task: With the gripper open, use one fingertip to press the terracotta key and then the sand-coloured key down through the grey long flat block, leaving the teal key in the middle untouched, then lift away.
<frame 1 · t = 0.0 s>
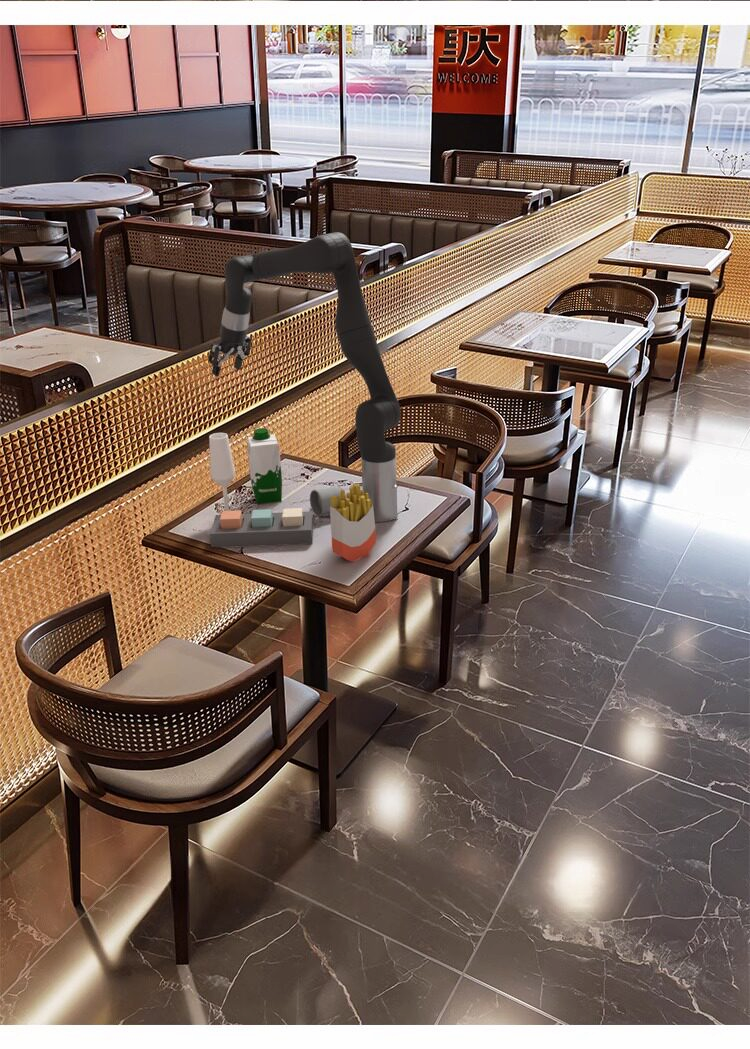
hand: (226, 371, 254), 31 cm above the table, tool tilted 20°, fingers open, 8 cm apart
milk carton: (268, 499, 248), on the table
champagne flute: (228, 518, 237), on the table
french fries container: (355, 556, 215), on the table
sand key: (292, 518, 224), point 5 cm above the table, slide at 0.0 cm
terracotta key: (231, 520, 224), point 5 cm above the table, slide at 0.0 cm
ceramic mug: (325, 512, 239), on the table
grey long flat block: (263, 535, 226), on the table
teal key: (262, 519, 224), point 5 cm above the table, slide at 0.0 cm
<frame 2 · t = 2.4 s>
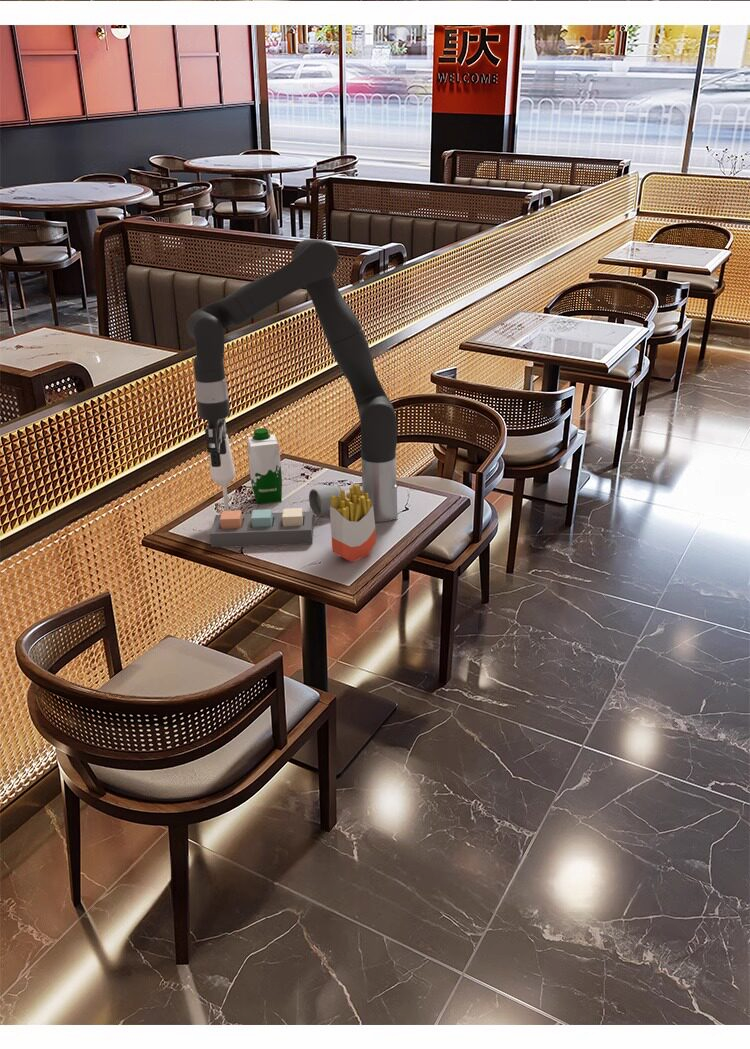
hand: (219, 460, 213), 23 cm above the table, tool pointing down, fingers open, 8 cm apart
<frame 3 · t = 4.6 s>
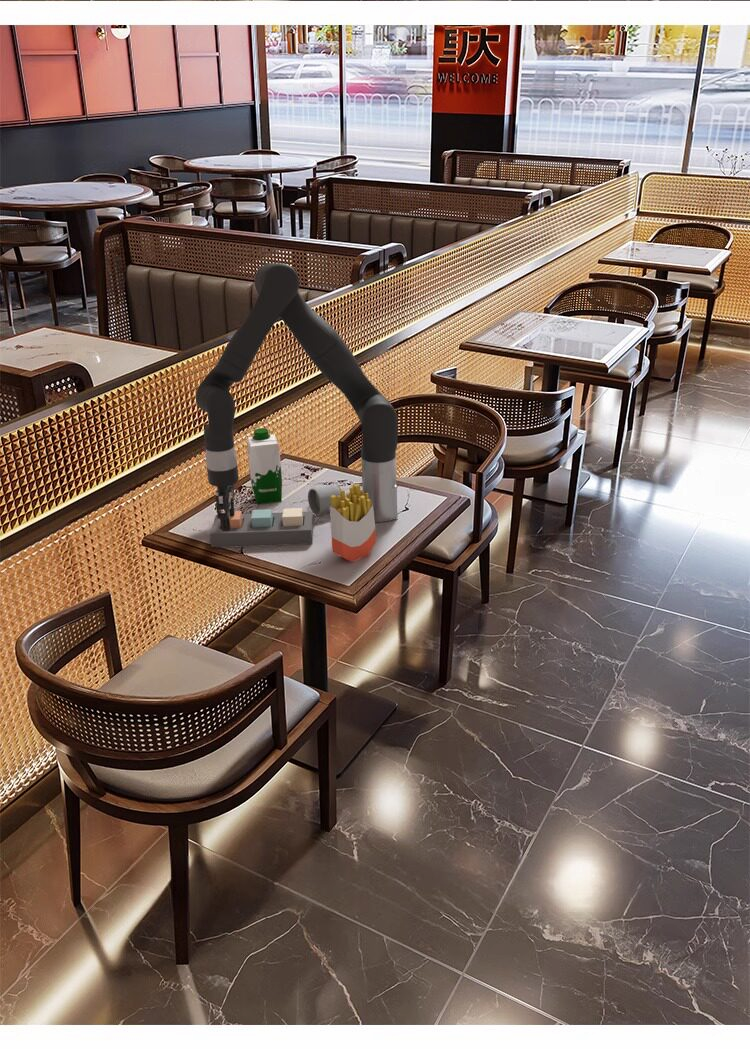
hand: (228, 522, 220), 6 cm above the table, tool pointing down, fingers open, 8 cm apart
terracotta key: (231, 521, 224), point 5 cm above the table, slide at 0.2 cm, touching gripper
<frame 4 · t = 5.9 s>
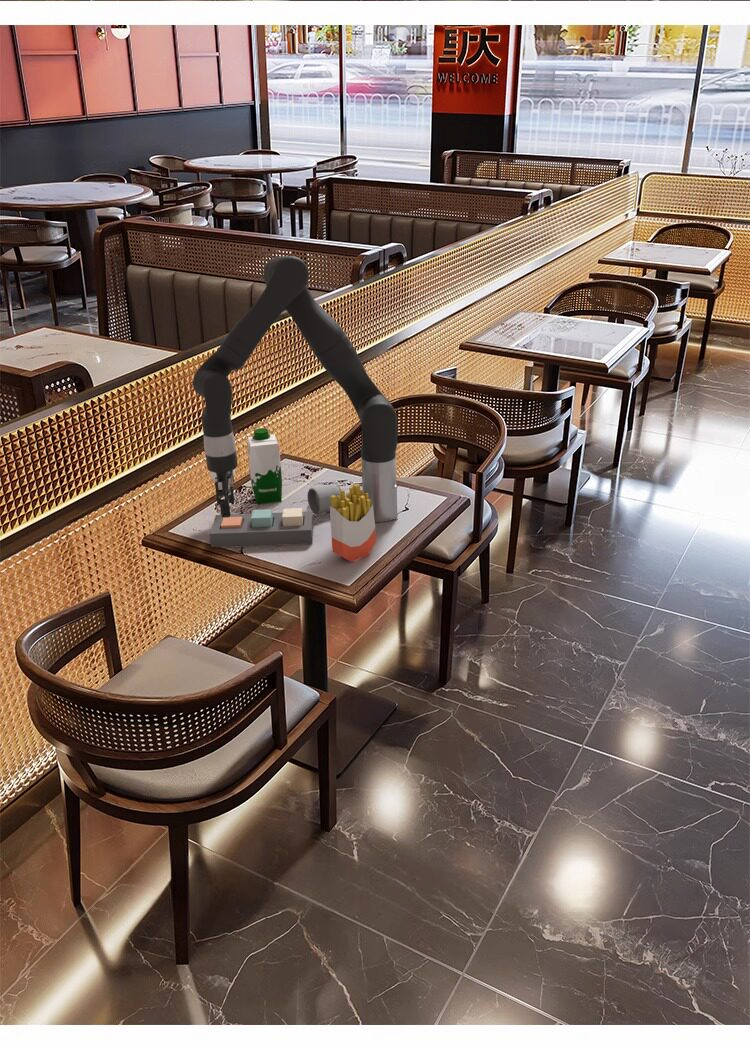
hand: (228, 509, 218), 10 cm above the table, tool pointing down, fingers open, 8 cm apart
terracotta key: (232, 526, 225), point 3 cm above the table, slide at 1.8 cm
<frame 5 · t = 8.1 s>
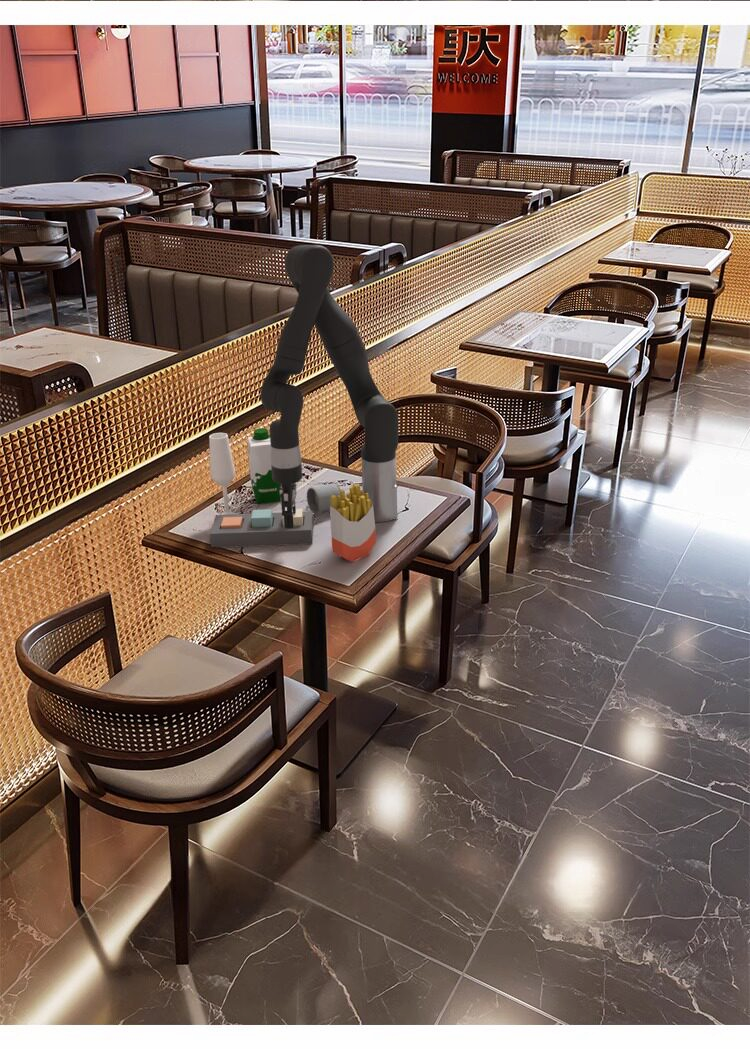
hand: (290, 520, 220), 6 cm above the table, tool pointing down, fingers open, 8 cm apart
sand key: (292, 519, 224), point 5 cm above the table, slide at 0.2 cm, touching gripper
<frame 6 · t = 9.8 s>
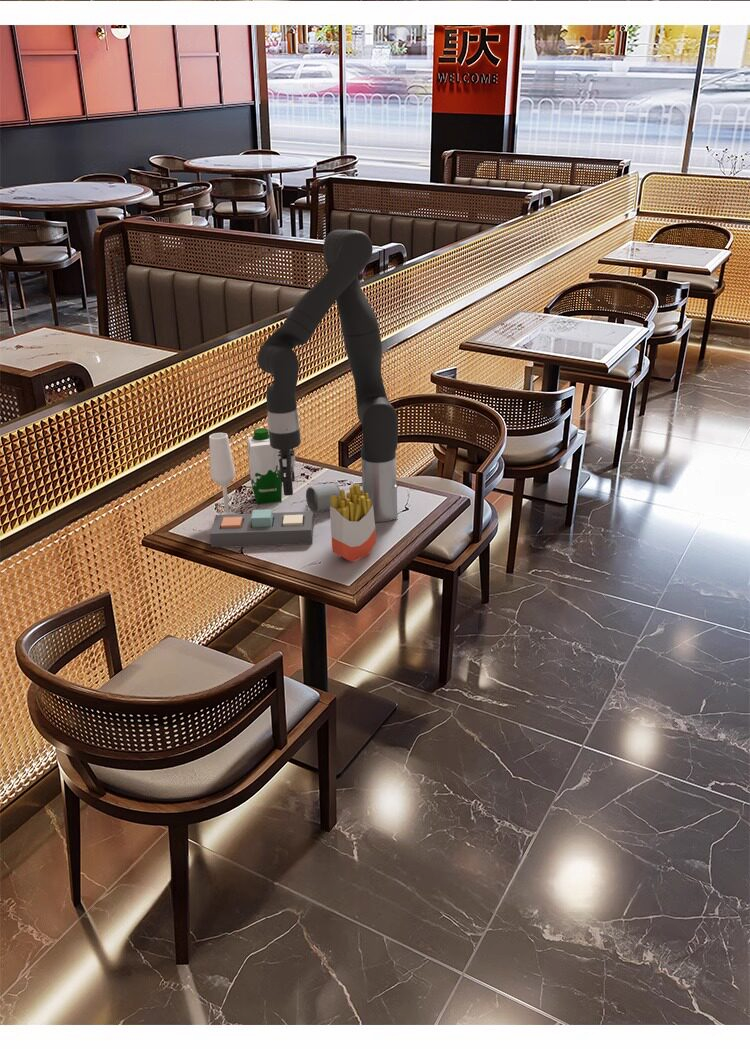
hand: (289, 487, 216), 16 cm above the table, tool pointing down, fingers open, 8 cm apart
sand key: (293, 524, 225), point 3 cm above the table, slide at 1.9 cm
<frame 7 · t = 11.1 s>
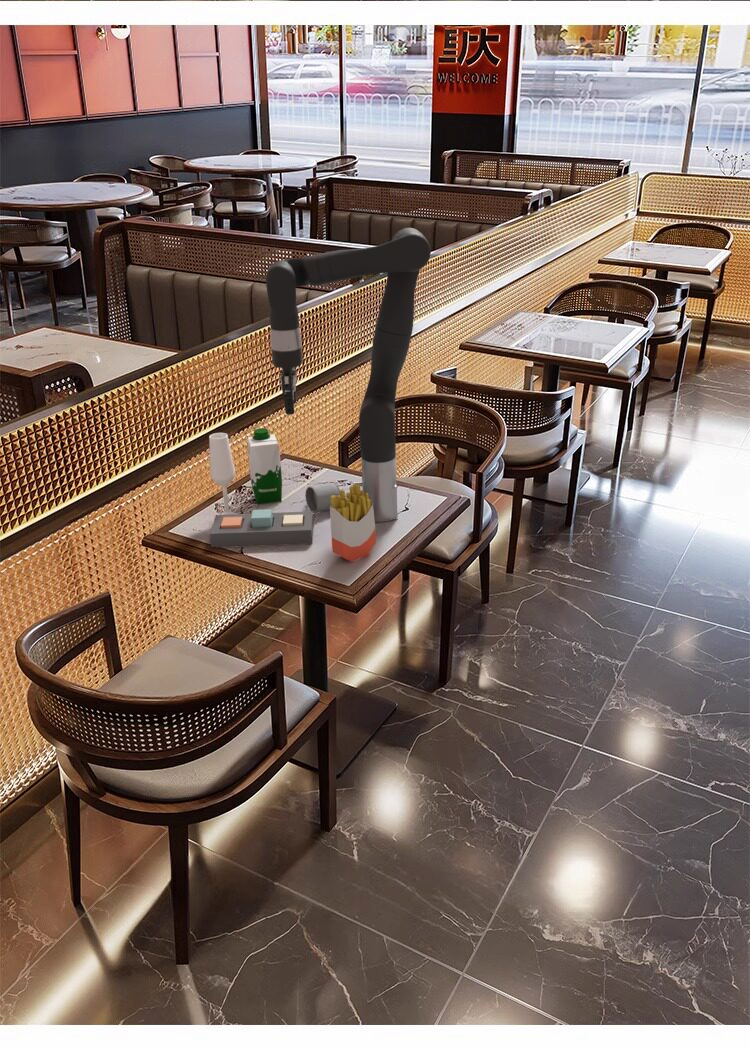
hand: (291, 408, 220), 32 cm above the table, tool pointing down, fingers open, 8 cm apart
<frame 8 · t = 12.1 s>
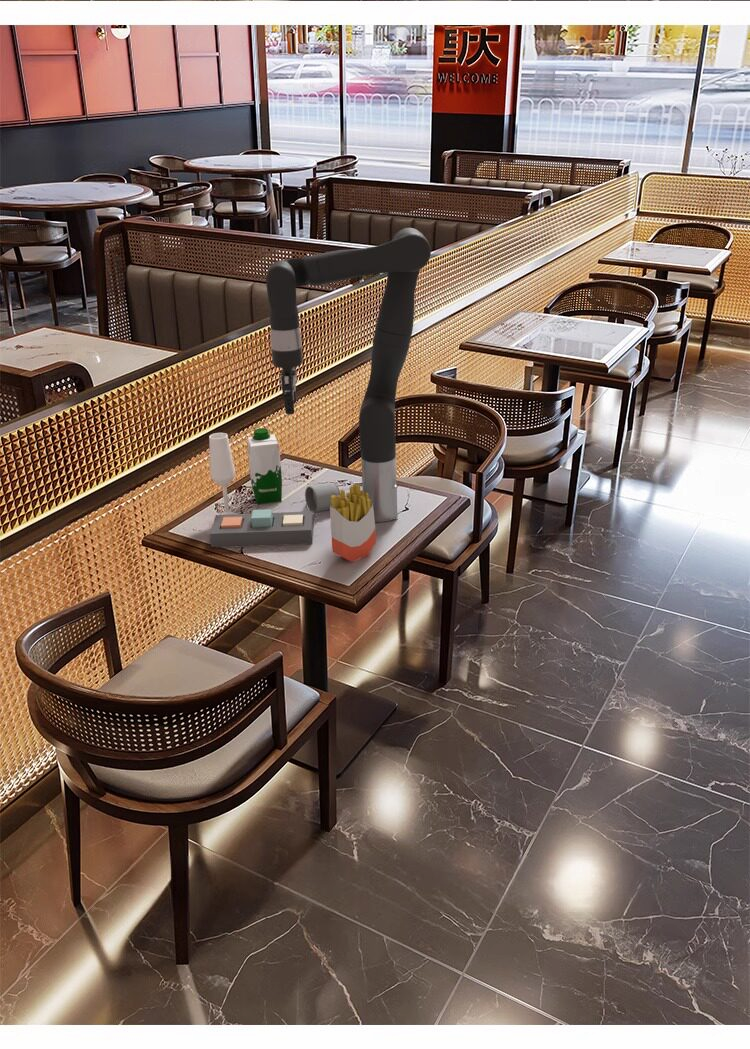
hand: (291, 408, 220), 32 cm above the table, tool pointing down, fingers open, 8 cm apart
at the end: terracotta key slide at 1.8 cm; sand key slide at 1.9 cm; teal key slide at 0.0 cm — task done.
